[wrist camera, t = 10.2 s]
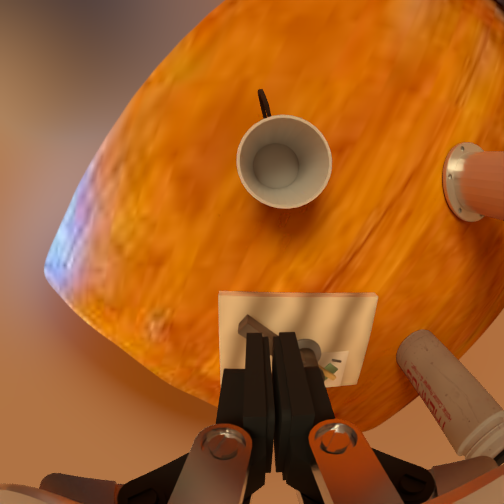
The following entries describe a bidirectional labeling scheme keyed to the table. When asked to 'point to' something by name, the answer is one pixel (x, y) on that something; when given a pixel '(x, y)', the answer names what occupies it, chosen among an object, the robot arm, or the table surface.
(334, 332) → the beige flat slab
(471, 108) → the table surface
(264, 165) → the coffee mug
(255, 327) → the grey door handle
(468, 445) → the thermos bottle
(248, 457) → the robot arm
